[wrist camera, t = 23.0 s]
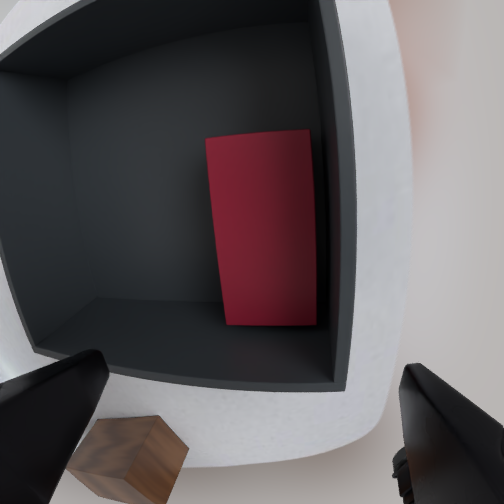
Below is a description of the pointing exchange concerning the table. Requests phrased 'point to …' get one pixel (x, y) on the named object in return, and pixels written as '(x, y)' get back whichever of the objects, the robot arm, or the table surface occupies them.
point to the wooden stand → (129, 460)
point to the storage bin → (169, 184)
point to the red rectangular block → (265, 226)
